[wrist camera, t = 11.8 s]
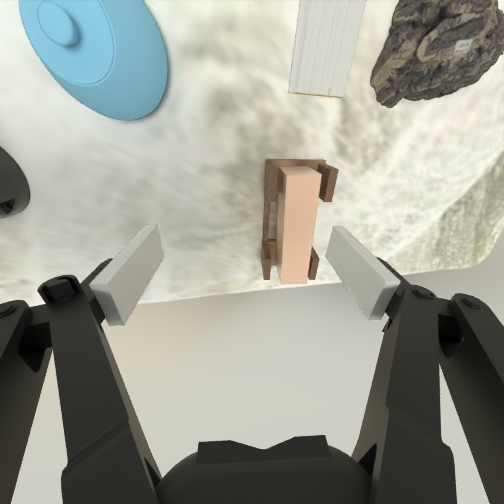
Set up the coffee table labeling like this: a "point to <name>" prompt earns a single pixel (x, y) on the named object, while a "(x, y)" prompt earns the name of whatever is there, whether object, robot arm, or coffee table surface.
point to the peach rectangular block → (296, 222)
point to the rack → (270, 196)
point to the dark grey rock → (437, 48)
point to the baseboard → (325, 46)
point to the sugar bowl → (100, 52)
